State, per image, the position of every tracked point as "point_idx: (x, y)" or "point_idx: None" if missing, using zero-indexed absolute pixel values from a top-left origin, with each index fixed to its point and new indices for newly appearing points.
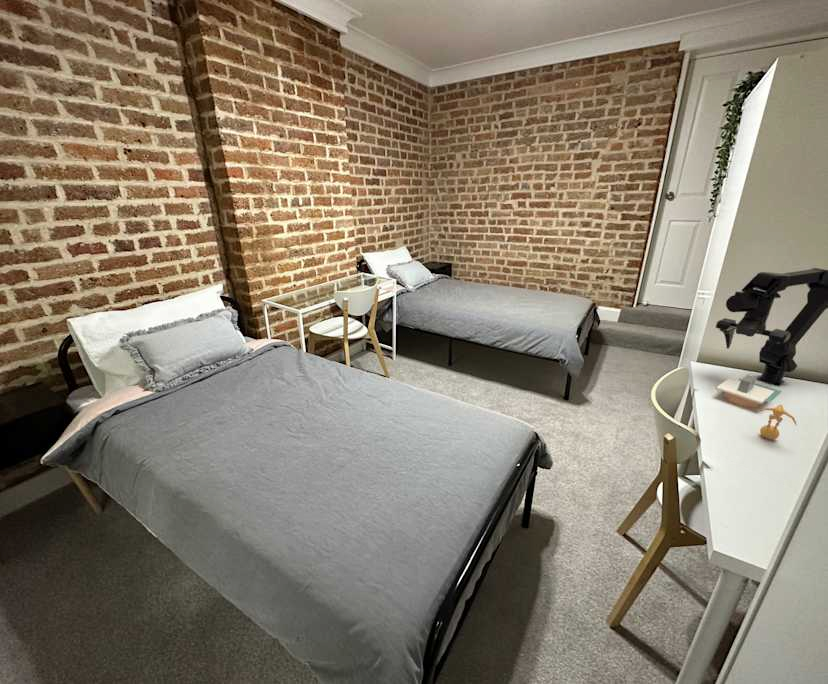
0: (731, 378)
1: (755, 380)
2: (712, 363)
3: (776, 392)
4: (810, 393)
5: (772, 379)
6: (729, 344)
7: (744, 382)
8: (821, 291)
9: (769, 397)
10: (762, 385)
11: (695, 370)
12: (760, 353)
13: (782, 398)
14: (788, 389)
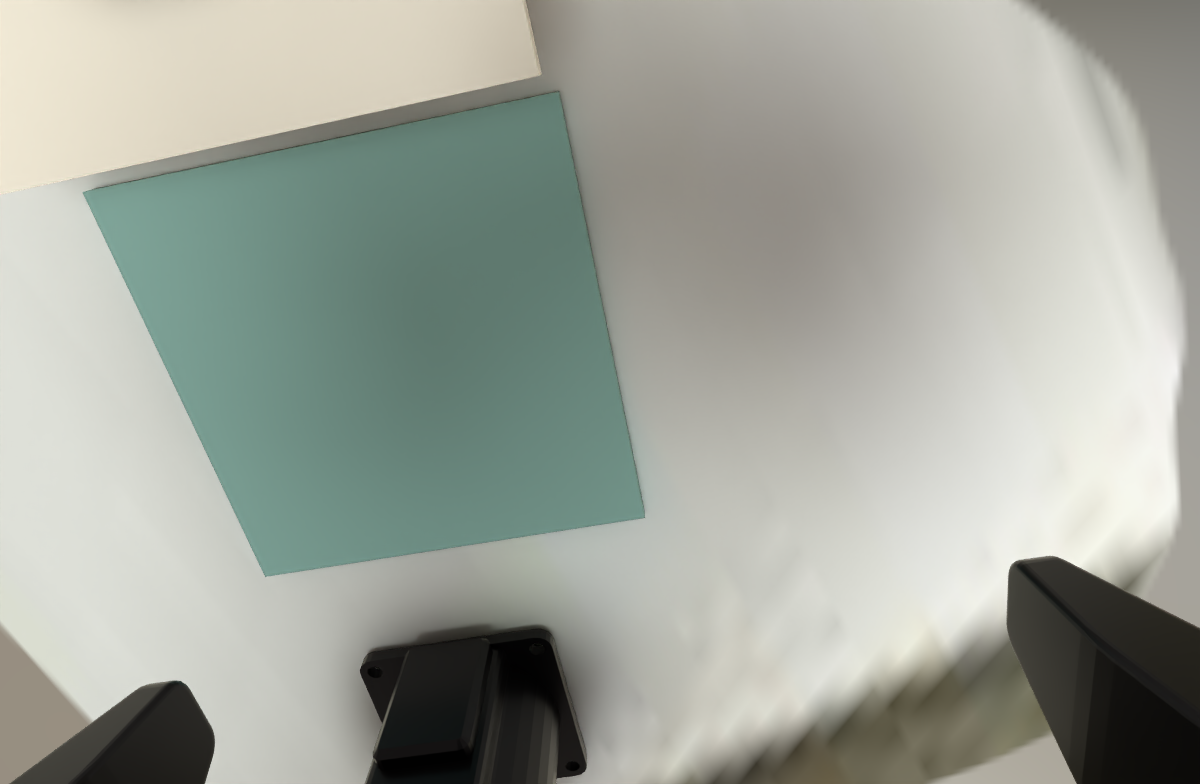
0: (503, 50)
1: None
2: None
3: (260, 502)
4: None
5: (405, 686)
6: (1107, 695)
7: None
8: None
9: (178, 301)
10: (428, 545)
11: (1096, 284)
12: (78, 765)
13: (160, 435)
14: (302, 676)
